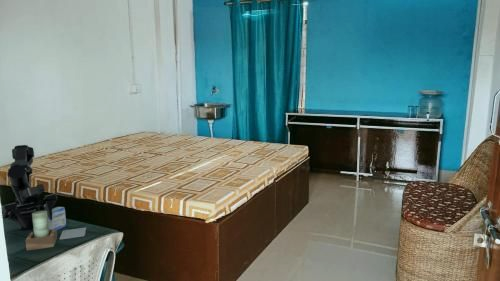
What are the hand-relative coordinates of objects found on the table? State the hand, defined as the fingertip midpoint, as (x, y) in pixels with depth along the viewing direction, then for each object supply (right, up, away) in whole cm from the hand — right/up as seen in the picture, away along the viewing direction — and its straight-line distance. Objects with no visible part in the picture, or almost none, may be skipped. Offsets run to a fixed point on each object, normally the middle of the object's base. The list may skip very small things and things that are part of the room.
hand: (39, 223), depth 139 cm
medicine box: (-3, -7, +17) cm, 19 cm away
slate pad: (+8, -7, +11) cm, 15 cm away
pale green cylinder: (+1, -8, +1) cm, 8 cm away
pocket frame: (+1, -8, +1) cm, 8 cm away
